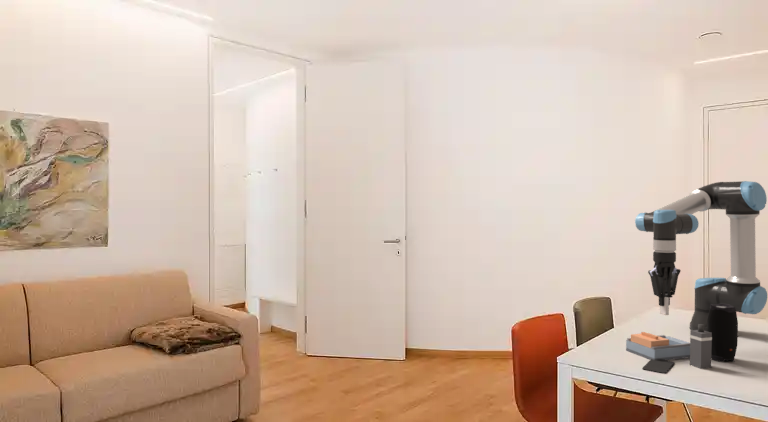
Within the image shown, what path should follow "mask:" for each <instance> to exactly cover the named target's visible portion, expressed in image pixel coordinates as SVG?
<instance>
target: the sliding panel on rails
mask: <svg viewBox="0 0 768 422" xmlns="http://www.w3.org/2000/svg"><path fill="white" fill-rule="evenodd" d="M658 336H659V337H662V338H665V339H669V345H665V346H654V347H651V348H649V347H646V346H643V345H640V344H638V343H635V342H632V341H631V337H627V338H626V341H625V342H626V343H625V344H626V345H625V351H627V352H629V353H632V354H633V355H637V356H639V357H642V358H645V359H647V360H649V361H650V360H651V359H653V360H659V359H661V360H667V361H672V360H680V359H690V341H689V342H688V341H685V340H683V339H679V338H676V337H674V336H666V335H665V334H661V335H660V334H659V335H658Z"/></svg>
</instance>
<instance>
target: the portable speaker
mask: <svg viewBox="0 0 768 422" xmlns="http://www.w3.org/2000/svg"><path fill="white" fill-rule="evenodd" d="M738 329H739V321H738V314H737V312H736V309H735V307H733V306H731V305H729V304H721V303H720V304H715V305H713V304H710V310H709V314H708V318H707V332H711V333H712V349H711V361H715V362H722V363H723V362H724V361H730V362H731V363H732V362H735V357H736V353H737V348H738V336H739V335H738V334H739V333H738V332H739V331H738Z"/></svg>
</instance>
